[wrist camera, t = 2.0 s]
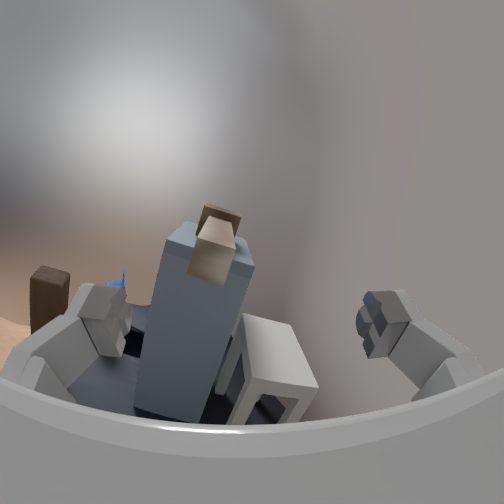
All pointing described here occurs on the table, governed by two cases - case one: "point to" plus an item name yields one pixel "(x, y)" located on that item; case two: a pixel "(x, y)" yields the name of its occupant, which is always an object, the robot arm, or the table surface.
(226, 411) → the table surface
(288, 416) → the stool
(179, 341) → the tall blue-grey box
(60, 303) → the wooden block
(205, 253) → the long tan plank
